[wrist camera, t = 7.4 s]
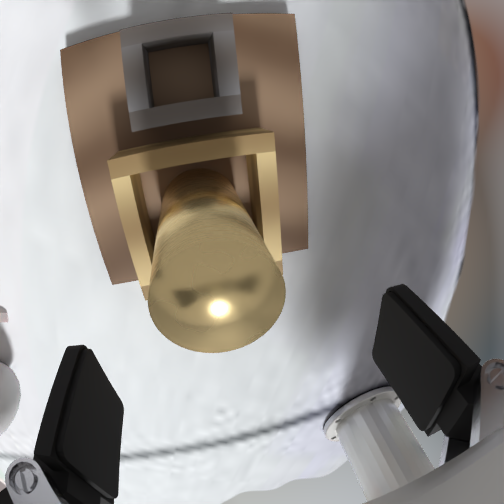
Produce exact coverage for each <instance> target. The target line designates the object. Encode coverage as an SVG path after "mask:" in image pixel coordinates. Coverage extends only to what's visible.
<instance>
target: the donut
mask: <svg viewBox="0 0 504 504" xmlns="http://www.w3.org/2000/svg"><path fill="white" fill-rule="evenodd" d="M20 396H21V393H20V384H19V381H18V379H17V377H16V375H15V373H14V372H13V370H12V369H11V368H10V367H9V366H7V365H5V364H4V363H2V362H0V435H1V434H2V433H3V432H5V431H6V430H7V428H8V427H9V425H10V424H11V423H12V421H13V420H14V418H15V415H16V413H17V411H18V408H19V402H20Z"/></svg>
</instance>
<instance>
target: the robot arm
mask: <svg viewBox="0 0 504 504" xmlns="http://www.w3.org/2000/svg"><path fill="white" fill-rule="evenodd" d="M372 355H373V359H374V361H375V363H376V365H377V366H378V367H379V369H380V370H381V372H382V373H383V375H384V376H385V378H386V379H387V381H388V382H389V384H390V385H391V387H382V388H378V389H375V390H372V391H369V392H367V393H365V394H362V395H360V396H359V397H357V398H355V399H353V400H351V401H350V402H348V403H347V404H345V405H344V406H343V407H341V408H340V409H339V410H337V411H336V412H335V413H334V414H333V415H332V416H331V417H330V418H329V419H328V421H327V422H326V424H325V426H324V434H325V436H326V438H327V439H328V440H331V441H336V442H337V441H340V443H341V445H342V447H343V449H344V451H345V454H346V456H347V458H348V460H349V462H350V464H351V466H352V468H353V471H354V473H355V475H356V477H357V479H358V482H359V484H360V486H361V488H362V490H363V492H364V495H365V497H366V499H367V501H368V502H366V503H364V504H504V360H501V359H491V360H488V361H487V362H485V363H484V364H483V366H481V365H480V364H479V362H480V360H481V359H480V358H479V357H478V356H477V355H476V354H475V353H474V352H473V351H472V350H471V349H470V348H469V347H468V346H467V345H466V344H465V343H464V342H463V341H462V339H461V338H460V337H458V335H457V334H456V333H455V332H454V331H453V330H452V329H451V328H450V327H449V326H448V325H447V324H446V323H445V322H444V321H443V320H442V319H441V318H440V317H439V316H438V315H437V314H436V313H435V312H434V311H433V310H432V309H431V308H429V307H428V306H427V305H426V304H425V303H424V302H423V301H422V300H421V299H420V298H419V297H418V296H417V295H416V294H415V293H414V292H413V291H412V290H411V289H409V288H408V287H407V286H406V285H405V284H401V285H397V286H394V287H390V288H388V289H387V290H386V293H385V294H384V295H383V297H382V302H381V309H380V315H379V320H378V326H377V331H376V337H375V342H374V347H373V352H372ZM401 402H402V404H403V405H404V407H405V408H406V410H407V411H408V413H409V414H410V416H411V417H412V419H413V421H414V422H415V424H416V425H417V427H418V428H419V429H420V430H421V431H425V433H426V434H427V436H430V435H432V434H434V433H436V432H437V431H439V430H442V431H443V433H444V441H443V447H442V453H441V457H440V463H439V467H438V468H436V469H434V467H433V465H432V463H431V462H430V460H429V458H428V457H427V455H426V453H425V452H424V450H423V448H422V447H421V445H420V444H419V442H418V440H417V439H416V437H415V435H414V434H413V432H412V431H411V429H410V427H409V426H408V424H407V423H406V421H405V419H404V418H403V416H402V414H401V413H400V411H399V410H398V407H399V405H400V404H401ZM123 415H124V407H123V403H122V401H121V400H120V398H119V396H118V395H117V393H116V391H115V390H114V388H113V387H112V385H111V383H110V381H109V380H108V378H107V376H106V375H105V373H104V371H103V369H102V368H101V366H100V364H99V362H98V360H97V358H96V357H95V355H94V353H93V351H92V350H91V349H87V347H86V346H85V345H76V346H68V347H67V348H66V350H65V353H64V355H63V358H62V361H61V363H60V366H59V369H58V372H57V375H56V378H55V380H54V383H53V386H52V389H51V393H50V396H49V399H48V402H47V405H46V409H45V412H44V415H43V419H42V422H41V426H40V430H39V434H38V437H37V441H36V445H35V450H34V458H33V459H31V458H27V457H22V458H18V459H16V460H14V461H13V462H12V463H11V464H10V465H9V467H8V468H7V471H6V474H5V483H6V488H5V489H3V490H2V491H1V492H0V504H114V498H117V496H118V485H119V464H120V448H121V436H122V425H123Z"/></svg>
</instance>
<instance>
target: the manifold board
mask: <svg viewBox="0 0 504 504" xmlns="http://www.w3.org/2000/svg"><path fill="white" fill-rule="evenodd" d="M60 53H61V66H62V76H63V85H64V93H65V101H66V108H67V115H68V121H69V127H70V132H71V138H72V143H73V148H74V153H75V158H76V163H77V167H78V172H79V176H80V180H81V184H82V188H83V192H84V196H85V200H86V204H87V207H88V211H89V215H90V218H91V222H92V225H93V228H94V232H95V235H96V238H97V241H98V244H99V248H100V251H101V254H102V257H103V260H104V263H105V265H106V268H107V271H108V274H109V277H110V280H111V282H112V285H114V284H120V283H125V282H131V281H136V280H139V283H140V286H141V289H142V292H143V295H144V298H145V300H148V292H149V284H150V276H151V269H152V261H153V254H154V248H155V241H156V235H157V229H158V223H159V217H160V212H161V206H162V201H163V196H164V193H165V190H166V188H167V187H168V185H169V184H170V182H171V181H172V180H173V179H174V178H175V177H176V176H178V175H179V174H181V173H183V172H184V171H187V170H190V169H194V168H207V169H211V170H214V171H217V172H219V173H220V174H222V175H223V176H225V177H226V178H227V179H228V180H229V181H230V183H231V184H232V186H233V188H234V189H235V191H236V193H237V195H238V196H239V198H240V200H241V202H242V203H243V205H244V207H245V209H246V211H247V212H248V214H249V216H250V218H251V219H252V221H253V223H254V225H255V226H256V228H257V230H258V232H259V234H260V235H261V237H262V239H263V241H264V243H265V244H266V246H267V248H268V250H269V251H270V253H271V255H272V257H273V259H274V260H275V262H276V264H277V266H278V268H279V269H280V272H281V274H282V275H283V267H282V253H287V252H292V251H298V250H303V249H308V204H307V172H306V148H305V129H304V113H303V98H302V85H301V73H300V62H299V51H298V41H297V32H296V23H295V14H276V13H255V14H232V13H222V14H210V15H200V16H192V17H184V18H177V19H170V20H164V21H159V22H153V23H148V24H143V25H138V26H134V27H130V28H125V29H121V30H120V31H119V32H115V33H112V34H108V35H104V36H101V37H97V38H94V39H91V40H88V41H84V42H81V43H78V44H75V45H73V46H70V47H67V48H64V49H61V50H60Z"/></svg>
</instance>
